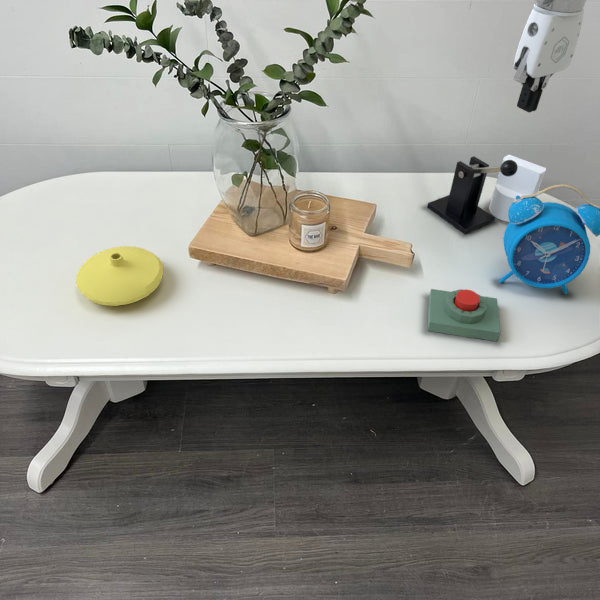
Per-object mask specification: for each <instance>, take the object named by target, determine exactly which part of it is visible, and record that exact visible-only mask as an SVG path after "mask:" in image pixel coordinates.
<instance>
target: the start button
mask: <svg viewBox="0 0 600 600" xmlns="http://www.w3.org/2000/svg"><path fill="white" fill-rule="evenodd" d="M459 290H460V289H459ZM478 294H479V293H477V292H476V291H473V290H471V289H462V290H460V291H459V292H458V293H457V295H456V298H455V305H456V307H457V308H459V309H461V310H463V311H468V312H472V311H475V310H476V309H477V307H478V304H479V301H480V298H479V296H478Z"/></svg>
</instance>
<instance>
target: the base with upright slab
mask: <svg viewBox="0 0 600 600" xmlns="http://www.w3.org/2000/svg"><path fill="white" fill-rule="evenodd" d="M506 160H513V161H515V162H516V163H517V166H518V169H517V172H516V173H515V174H514V175H513V176H509V177H507V176H504V175H503V174H502V173H501V172H498V175H497V178H496V182H495V185H494V189H493V192H492V195H491V199H490V202H489V205H488V210H489V213H490V214H491V215H492V216H494V217H495V219H498V220H500V221H503V222H507V223H509V222H510V221H509V218H508V211H509V207H510V206H511V204H512V203H513V202H514V201H513V200H515V199H516V196H517V195H518V196H520V197H521V196H523V195H530V194H535V193H537V192H540V189H541V185H542V182H543V180H544V176H545V174H546V171H547V167H544V166H541V165H538V164H536V163H533V162H531V161H527V160H525V159H522V158H520V157H517V156H515V155H512V154H507V155H505V156H504V157H503V158H502V161H501V164H502V163H503V162H504V161H506ZM534 197H536V198H537V196H534Z"/></svg>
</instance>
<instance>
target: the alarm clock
mask: <svg viewBox="0 0 600 600" xmlns="http://www.w3.org/2000/svg"><path fill="white" fill-rule="evenodd" d="M557 188H558V189H559V188H566V189H570V190H572V191H573V192H576V193H577V194H578V195H579V196H580V197H581V198H582V199H583V200H584V201H585V204H580V205H578V206H576V207H575V208H574V209H572V208H571V207H569V206H567V205H565V204H562V203H559V202H558V203H557V202H551V201H546V202H543V201H542V200H541V199H540V198H538V197H537V196H539V195H542V194H544V193H545V192H547V191H550V190H553V189H557ZM534 196H536V197H534ZM513 201H514V202H513V203H512V204H511V206H510V207H509V211H508V218H509V221H510V222H507V223H508V224H507V225H506V227H505V229H504V232H503V233H504V234H503V237H502V239H503V249H504V253H505V256H506V259H507V263H508V267H509V268H510V270H509V271H508V272H507V273H506V274H505V275H503V276H502V277H501V278H500V279H499V280H498V283H499V284H501V283H503V282H505V281H507V280H508V279H509V278H511V277H512V276H513V275H515V276H516V277H517V279H518V280H520V281H521V282H523V283H524V284H526V285H529V286H531V287H534V288H538V289H554V288H558V287H561V290H562V292H563V294H564V295H567V294H568V287H567V284H568V283H570V282H572V281H574V280H576V278H577V277H579V276H580V275H581V274H582V273H583V271H584V270H585V268H586V266H587V264H588V262H589V260H590V259H589V258H590V255H591V243H590V239H589V237H588V233H587V229H588V230H589V231H590V232H591V233H592V235H594V237H596V238H598V237H599V236H600V205H597V204H595V203H593V202H592V201H590V200H589V199H588V198H587V197H586V196H585V195H584V194H583V193H582V192H581V190H579V189H578V188H576V187H574V186H572V185H570V184H566V183H565V184H563V183H561V184H554V185H552V186H549V187H546V188H543V189H542V190H539V191H538V192H537V193H535V194H530V195H523V196H521V197H520V196H518V195H517V196H516V199H515V200H513ZM586 203H587V204H586ZM586 228H587V229H586Z"/></svg>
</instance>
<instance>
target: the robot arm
mask: <svg viewBox="0 0 600 600" xmlns="http://www.w3.org/2000/svg"><path fill="white" fill-rule="evenodd" d="M586 1H587V0H534V3H533V8H532V10H531V12H530V14H529V16H528V18H527V21H526V23H525V25H524V29H523V31H522V34H521V37H520V39H519V43H518V46H517V49H516V51H515V52H516V53H515V55H514V60H513V69H514V70H515V74H514V75H513V81H515V82H517V83H520V86H521V91H520V93H519V96H518V100H517V103H516V107H517V108H518V109H520V110H523V111H524V112H526V113H532V112H535V111H537V109H538V106H539V103H540V100H541V97H542V95H543V91H544V89H545V88H546V87H547V85H548V83H549V80H550V78H551V77H553V75H555V74H556V73H559V72H562V71H565V70H566V69H568V68H569V67H570V66H571V63H572V60H573V57H574V53H575V51H576V48H577V44H578V40H579V36H580V33H581V29H582V24H583V20H584V13H585V12H584V11H585V8H584V7H585V4H586Z"/></svg>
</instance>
